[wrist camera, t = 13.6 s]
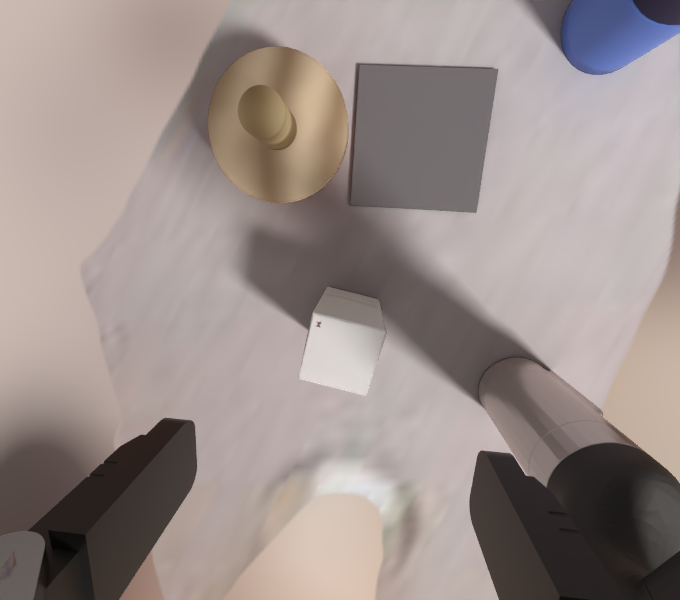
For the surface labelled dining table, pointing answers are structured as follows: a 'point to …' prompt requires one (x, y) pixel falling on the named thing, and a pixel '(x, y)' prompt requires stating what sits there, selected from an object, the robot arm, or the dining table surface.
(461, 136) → the mat
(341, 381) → the supplement box
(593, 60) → the water bottle
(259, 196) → the lid
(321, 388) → the dining table surface
